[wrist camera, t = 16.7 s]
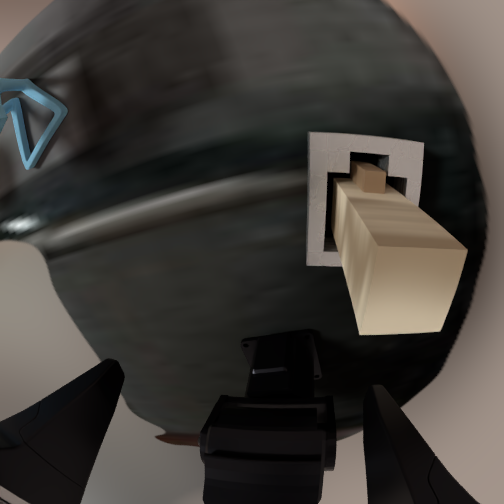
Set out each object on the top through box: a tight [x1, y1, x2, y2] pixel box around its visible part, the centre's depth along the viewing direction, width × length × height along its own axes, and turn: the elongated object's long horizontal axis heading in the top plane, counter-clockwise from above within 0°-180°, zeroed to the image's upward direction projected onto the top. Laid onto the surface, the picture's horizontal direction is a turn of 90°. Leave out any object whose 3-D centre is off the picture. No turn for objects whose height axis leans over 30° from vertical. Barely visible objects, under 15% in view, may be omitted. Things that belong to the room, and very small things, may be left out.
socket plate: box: [306, 132, 424, 266], centre depth 17 cm, size 8×7×2 cm
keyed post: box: [331, 161, 468, 335], centre depth 13 cm, size 5×4×11 cm
